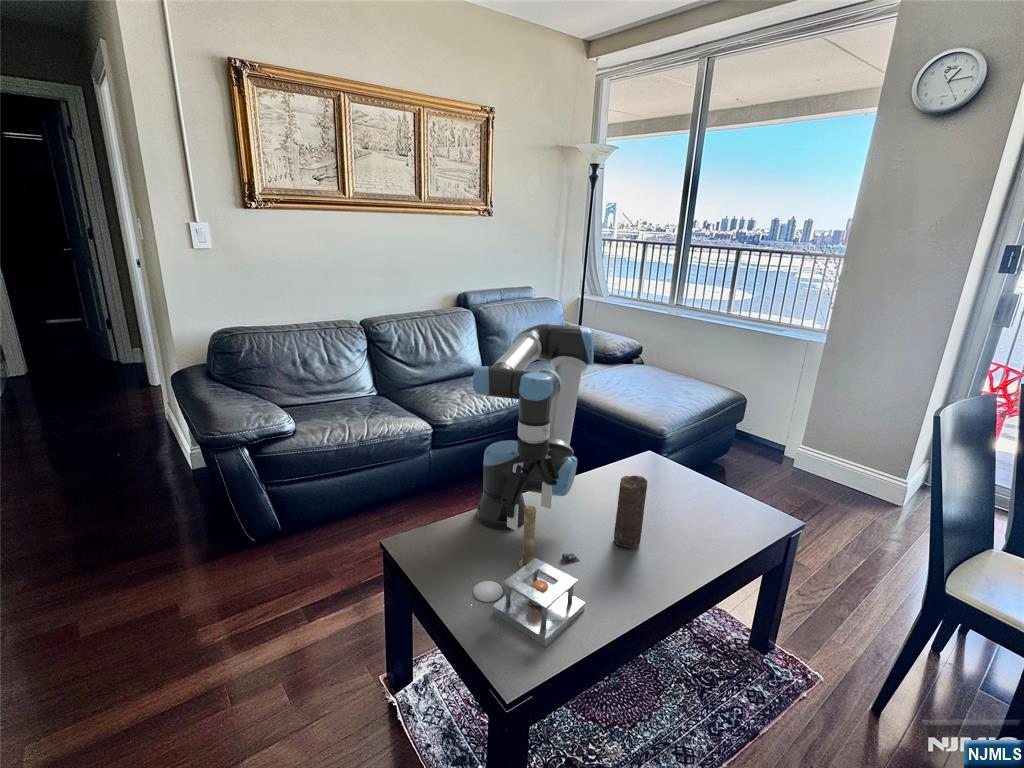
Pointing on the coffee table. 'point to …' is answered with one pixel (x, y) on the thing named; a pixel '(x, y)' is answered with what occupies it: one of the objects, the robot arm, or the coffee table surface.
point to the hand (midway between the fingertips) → (529, 517)
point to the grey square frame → (539, 602)
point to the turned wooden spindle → (528, 535)
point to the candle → (630, 511)
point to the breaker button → (540, 586)
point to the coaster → (488, 591)
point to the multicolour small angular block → (569, 558)
